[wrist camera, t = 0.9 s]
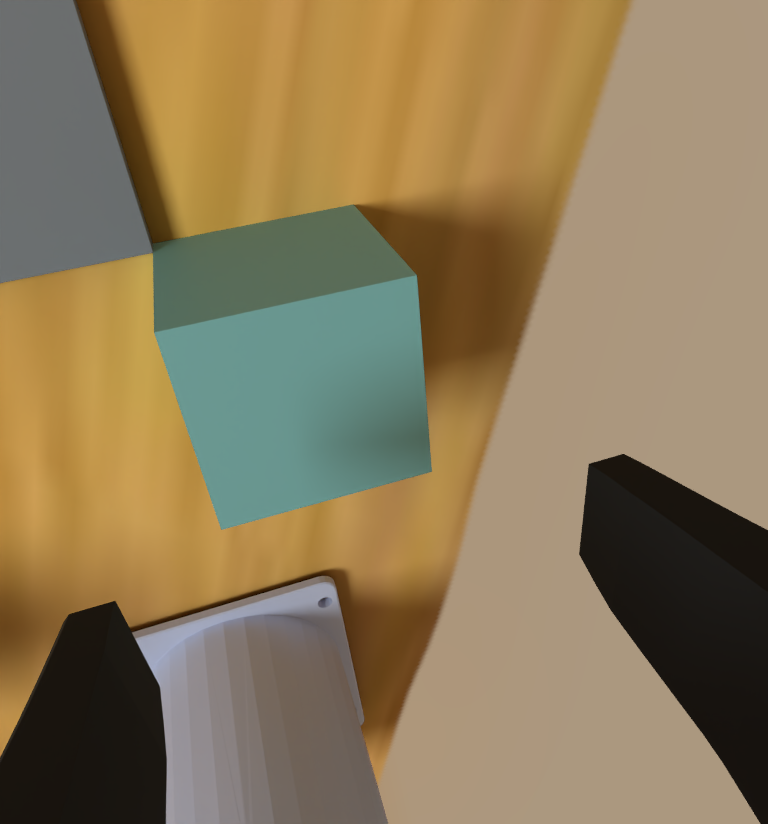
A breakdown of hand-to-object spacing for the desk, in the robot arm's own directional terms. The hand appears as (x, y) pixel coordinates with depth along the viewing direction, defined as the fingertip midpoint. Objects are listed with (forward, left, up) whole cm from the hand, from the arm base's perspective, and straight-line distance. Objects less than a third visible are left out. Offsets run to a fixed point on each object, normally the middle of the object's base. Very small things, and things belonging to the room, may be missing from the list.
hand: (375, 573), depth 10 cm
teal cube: (0, 0, -10) cm, 10 cm away
